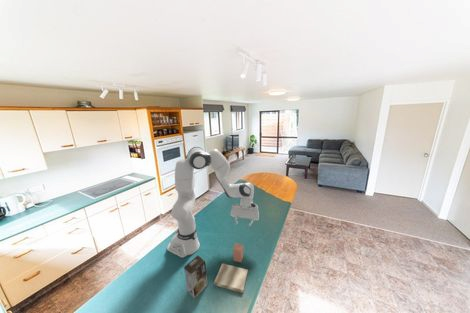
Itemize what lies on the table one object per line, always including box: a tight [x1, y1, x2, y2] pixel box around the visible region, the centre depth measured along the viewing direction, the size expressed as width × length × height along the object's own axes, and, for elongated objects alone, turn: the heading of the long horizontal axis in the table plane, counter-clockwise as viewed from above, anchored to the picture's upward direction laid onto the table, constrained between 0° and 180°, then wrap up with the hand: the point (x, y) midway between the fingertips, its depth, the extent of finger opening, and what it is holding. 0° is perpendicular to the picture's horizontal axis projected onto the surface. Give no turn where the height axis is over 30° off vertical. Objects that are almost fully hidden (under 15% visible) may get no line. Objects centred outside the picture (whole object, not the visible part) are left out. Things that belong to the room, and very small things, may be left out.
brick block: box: [232, 242, 244, 263], centre depth 105 cm, size 5×5×9 cm
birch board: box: [213, 263, 249, 294], centre depth 93 cm, size 16×12×2 cm
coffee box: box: [183, 255, 209, 299], centre depth 87 cm, size 9×6×16 cm
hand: (243, 225), depth 114 cm, fingers open, 8 cm apart
